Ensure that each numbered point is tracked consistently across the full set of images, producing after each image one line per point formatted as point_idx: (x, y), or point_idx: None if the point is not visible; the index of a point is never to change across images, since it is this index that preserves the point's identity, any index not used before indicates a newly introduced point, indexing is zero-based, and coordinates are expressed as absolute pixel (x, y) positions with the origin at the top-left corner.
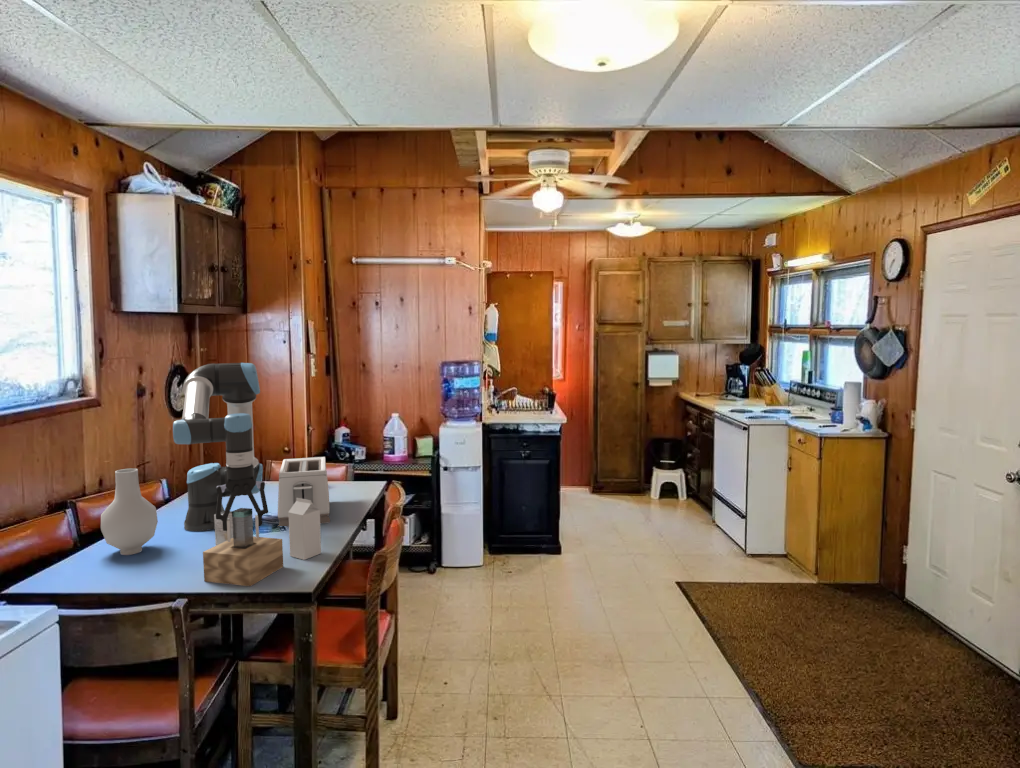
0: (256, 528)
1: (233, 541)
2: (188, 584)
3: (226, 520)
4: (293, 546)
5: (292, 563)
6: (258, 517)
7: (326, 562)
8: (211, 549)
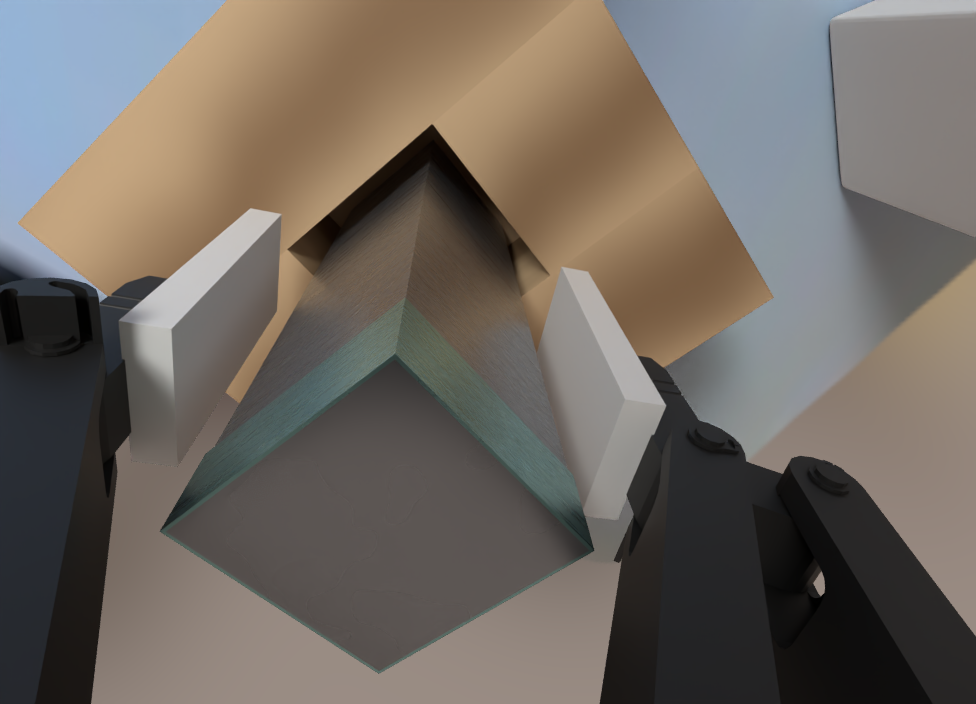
0: (556, 414)
1: (314, 274)
2: (51, 151)
3: (124, 431)
4: (890, 77)
5: (752, 193)
6: (629, 482)
7: (898, 309)
8: (102, 196)
